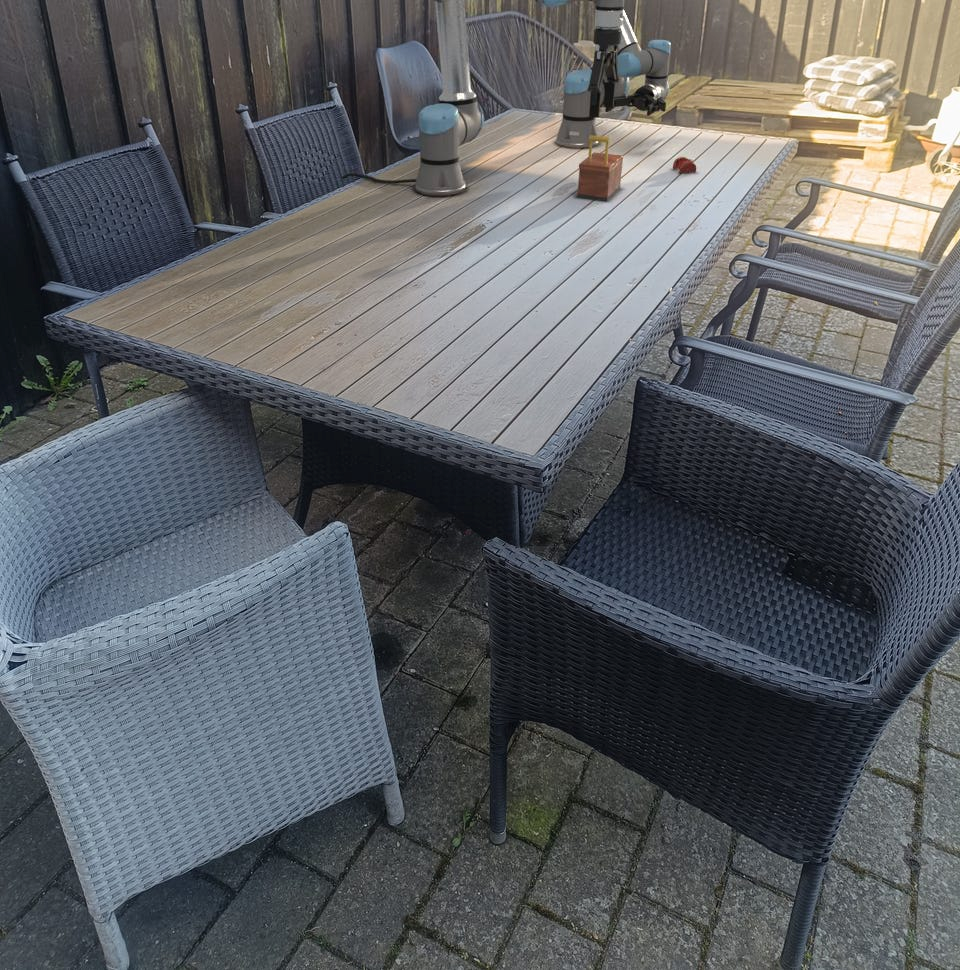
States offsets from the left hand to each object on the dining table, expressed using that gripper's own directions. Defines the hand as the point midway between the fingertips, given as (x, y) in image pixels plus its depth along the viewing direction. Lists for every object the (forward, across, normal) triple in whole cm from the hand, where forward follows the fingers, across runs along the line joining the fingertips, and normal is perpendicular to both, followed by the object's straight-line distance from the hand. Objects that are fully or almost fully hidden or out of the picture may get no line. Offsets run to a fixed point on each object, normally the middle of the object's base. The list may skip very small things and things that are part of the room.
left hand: (601, 112), depth 239 cm
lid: (+15, +4, 0) cm, 15 cm away
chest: (+24, +4, 0) cm, 24 cm away
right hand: (+5, +31, +1) cm, 31 cm away
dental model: (+24, +38, -18) cm, 49 cm away
